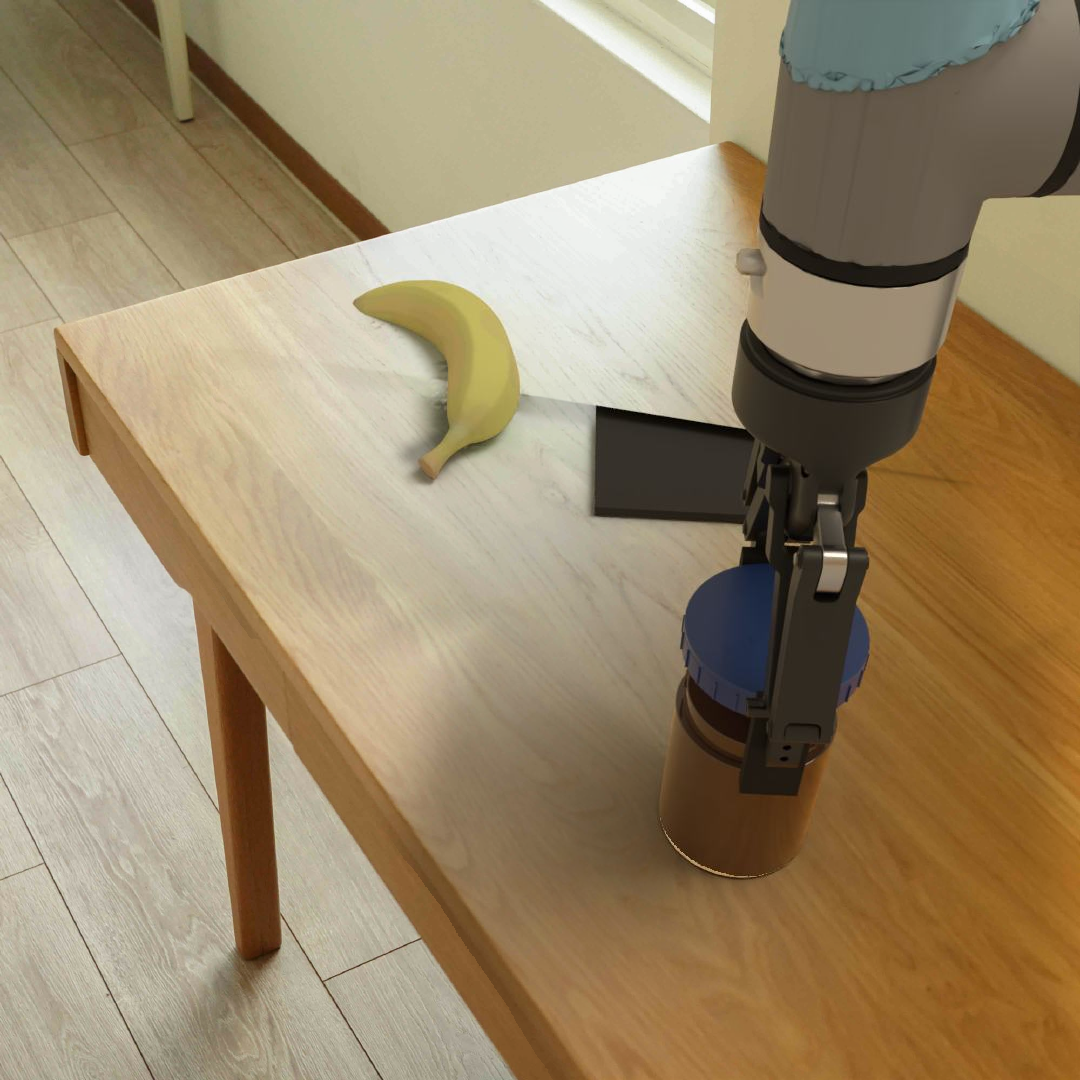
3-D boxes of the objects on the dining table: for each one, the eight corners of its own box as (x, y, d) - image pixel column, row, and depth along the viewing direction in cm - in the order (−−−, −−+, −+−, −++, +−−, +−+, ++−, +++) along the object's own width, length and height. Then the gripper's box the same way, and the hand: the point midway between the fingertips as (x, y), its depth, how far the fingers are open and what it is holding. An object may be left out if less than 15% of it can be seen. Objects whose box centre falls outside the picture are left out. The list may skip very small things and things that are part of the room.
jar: (811, 771, 75) (847, 645, 68) (801, 893, 69) (838, 769, 62) (669, 744, 76) (689, 617, 69) (647, 862, 70) (667, 736, 63)
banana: (515, 244, 101) (498, 435, 88) (533, 300, 105) (518, 491, 92) (344, 272, 104) (302, 462, 91) (367, 326, 108) (331, 514, 95)
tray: (784, 399, 100) (785, 391, 100) (803, 526, 90) (805, 518, 89) (596, 390, 100) (596, 381, 100) (594, 515, 90) (595, 507, 90)
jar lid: (701, 731, 60) (705, 706, 59) (664, 593, 67) (667, 568, 65) (888, 715, 61) (896, 690, 60) (834, 580, 67) (840, 556, 66)
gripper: (725, 189, 59) (676, 559, 75) (765, 514, 44) (693, 896, 59) (895, 196, 59) (812, 565, 75) (997, 524, 44) (864, 904, 59)
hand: (759, 711), depth 67 cm, fingers closed on jar lid, 9 cm apart
